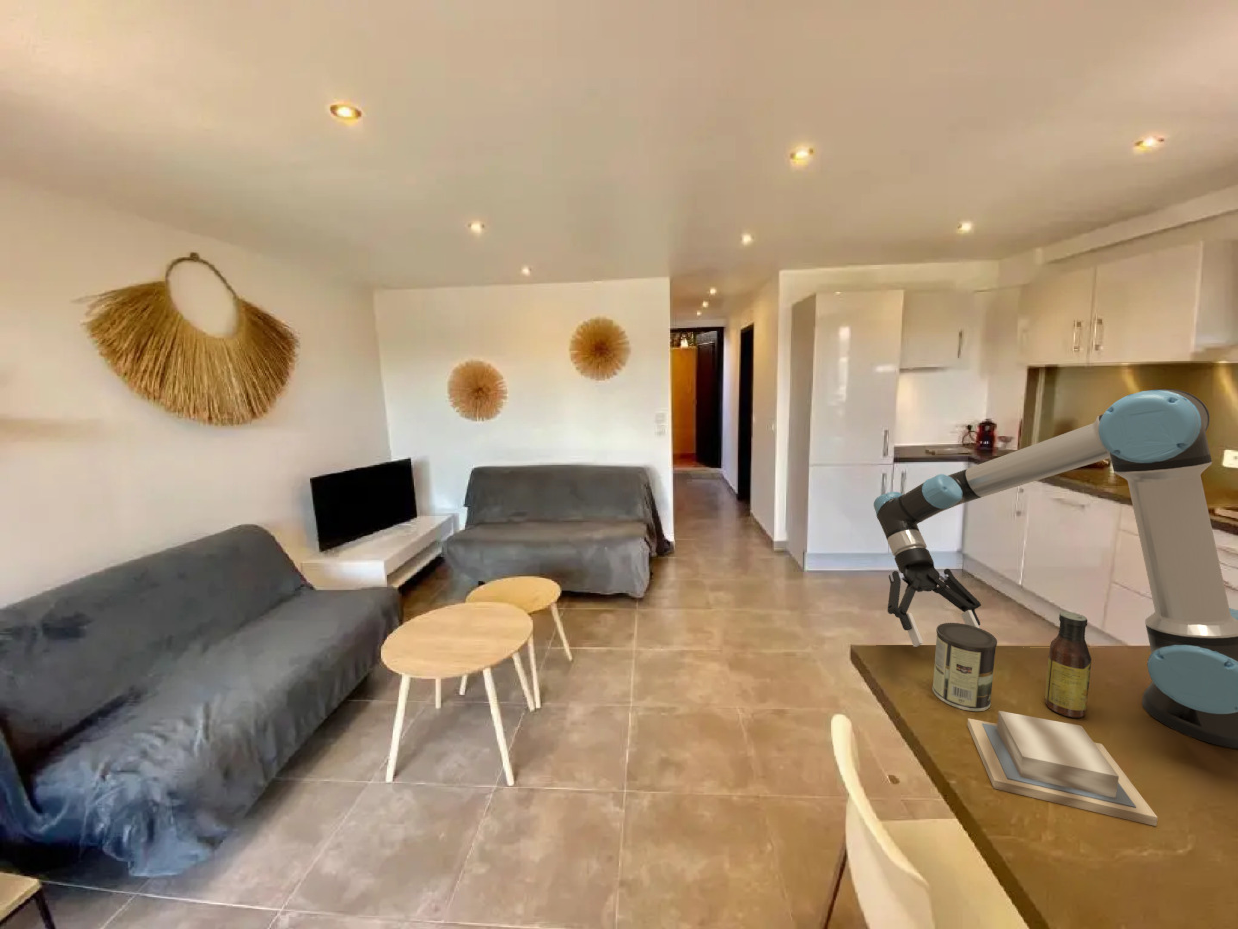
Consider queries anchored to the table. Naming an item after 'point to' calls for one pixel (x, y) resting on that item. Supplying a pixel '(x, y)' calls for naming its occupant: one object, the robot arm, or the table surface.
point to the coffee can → (964, 666)
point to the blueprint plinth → (1057, 795)
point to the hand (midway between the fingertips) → (949, 643)
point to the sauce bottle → (1069, 667)
